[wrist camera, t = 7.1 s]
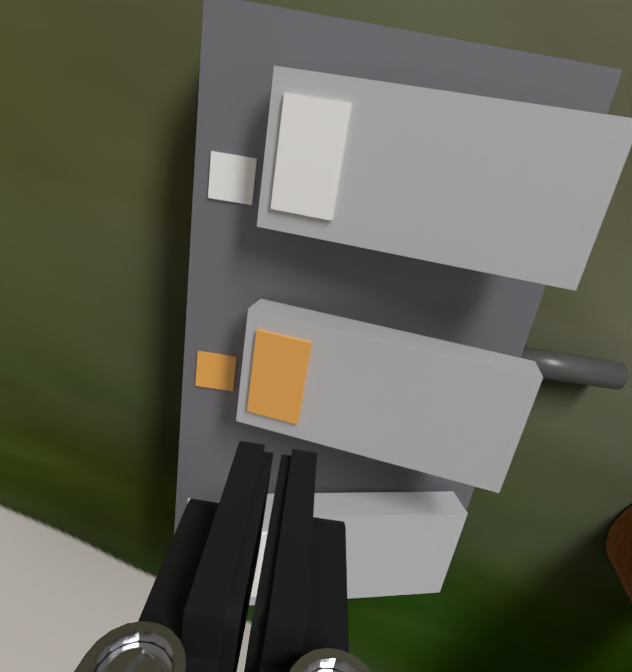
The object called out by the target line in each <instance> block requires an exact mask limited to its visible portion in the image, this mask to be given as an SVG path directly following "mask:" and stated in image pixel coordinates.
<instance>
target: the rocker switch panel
mask: <svg viewBox="0 0 632 672" xmlns="http://www.w3.org/2000/svg"><path fill="white" fill-rule="evenodd" d="M274 66H281V67H287V68H294V69H301V70H308V71H315V72H321V73H328V74H335V75H342V76H349V77H356V78H362V79H369V80H376V81H383V82H390V83H396V84H403V85H410V86H417V87H424V88H430V89H437V90H444V91H451V92H458V93H464V94H471V95H478V96H485V97H492V98H499V99H505V100H512V101H519V102H526V103H533V104H539V105H546V106H553V107H560V108H567V109H573V110H580V111H587V112H594V113H601V114H607V113H608V110H609V107H610V104H611V102H612V99H613V96H614V93H615V90H616V88H617V85H618V82H619V79H620V76H621V73H622V71H623V70H622V69H617V68H611V67H606V66H600V65H595V64H589V63H584V62H578V61H573V60H568V59H562V58H557V57H551V56H546V55H540V54H535V53H529V52H524V51H518V50H513V49H507V48H502V47H496V46H491V45H485V44H480V43H474V42H469V41H463V40H458V39H452V38H447V37H441V36H436V35H430V34H425V33H419V32H414V31H408V30H403V29H397V28H392V27H386V26H381V25H375V24H370V23H364V22H359V21H353V20H348V19H342V18H337V17H331V16H326V15H321V14H315V13H310V12H304V11H299V10H293V9H288V8H282V7H277V6H271V5H266V4H260V3H255V2H249V1H244V0H204V5H203V23H202V41H201V59H200V77H199V95H198V113H197V131H196V149H195V167H194V185H193V203H192V221H191V239H190V257H189V275H188V293H187V311H186V329H185V347H184V365H183V383H182V401H181V419H180V437H179V455H178V473H177V491H176V509H175V527H174V534H175V532H176V529H177V527H178V525H179V522H180V520H181V517H182V515H183V512H184V510H185V508H186V506H187V503H188V501H189V500H190V499H198V500H204V501H211V502H218V503H219V502H220V499H221V496H222V493H223V490H224V487H225V484H226V481H227V478H228V475H229V472H230V468H231V465H232V462H233V459H234V456H235V453H236V450H237V447H238V444H239V442H240V441H245V442H252V443H258V444H265V450H264V451H265V452H271V453H273V461H272V467H271V474H270V481H269V488H268V494H274V493H275V488H276V482H277V476H278V471H279V465H280V459H281V454H284V455H291V454H292V449H297V450H303V451H310V452H316V453H317V464H316V481H315V493H363V492H445V491H453V492H454V493H455V495H456V496H457V498H458V499H459V501H460V502H461V504H462V505H463V507H464V508H465V510H467V507H468V505H469V502H470V499H471V496H472V493H473V490H474V488H475V486H471V485H468V484H464V483H460V482H457V481H453V480H449V479H446V478H442V477H439V476H435V475H431V474H428V473H424V472H420V471H417V470H413V469H409V468H406V467H402V466H398V465H395V464H391V463H387V462H384V461H380V460H377V459H373V458H369V457H366V456H362V455H358V454H355V453H351V452H347V451H344V450H340V449H336V448H333V447H329V446H325V445H322V444H318V443H315V442H311V441H307V440H304V439H300V438H296V437H293V436H289V435H285V434H282V433H278V432H274V431H271V430H267V429H263V428H260V427H256V426H252V425H249V424H245V423H242V422H238V421H236V416H237V407H238V398H239V389H240V379H241V370H242V361H243V352H244V342H245V333H246V324H247V315H248V308H250V307H251V306H252V305H253V304H255V303H256V302H257V301H258V300H260V299H265V300H269V301H274V302H278V303H282V304H287V305H291V306H296V307H300V308H304V309H309V310H313V311H317V312H322V313H326V314H331V315H335V316H339V317H344V318H348V319H352V320H357V321H361V322H366V323H370V324H374V325H379V326H383V327H388V328H392V329H396V330H401V331H405V332H409V333H414V334H418V335H423V336H427V337H431V338H436V339H440V340H444V341H449V342H453V343H458V344H462V345H466V346H471V347H475V348H479V349H484V350H488V351H493V352H497V353H501V354H506V355H510V356H514V357H519V358H523V359H528V360H532V361H535V362H536V364H537V366H538V368H539V370H540V372H541V374H542V376H543V379H550V380H557V381H563V382H570V383H577V384H583V385H590V386H597V387H603V388H610V389H617V390H618V389H621V388H622V387H623V386H624V385H625V384H626V382H627V379H628V370H627V367H626V365H625V364H624V363H622V362H616V361H610V360H603V359H596V358H590V357H583V356H577V355H570V354H564V353H557V352H551V351H544V350H538V349H531V348H525V344H526V341H527V338H528V336H529V333H530V330H531V327H532V324H533V321H534V319H535V316H536V313H537V310H538V307H539V305H540V302H541V299H542V296H543V293H544V290H545V288H546V285H545V284H540V283H535V282H530V281H525V280H520V279H515V278H510V277H505V276H500V275H495V274H490V273H485V272H480V271H475V270H470V269H465V268H460V267H455V266H450V265H445V264H440V263H435V262H431V261H426V260H421V259H416V258H411V257H406V256H401V255H396V254H391V253H386V252H381V251H376V250H371V249H366V248H361V247H356V246H351V245H346V244H341V243H336V242H331V241H326V240H321V239H316V238H311V237H306V236H301V235H296V234H291V233H286V232H281V231H276V230H271V229H266V228H262V227H257V219H258V210H259V200H260V191H261V182H262V173H263V163H264V154H265V145H266V135H267V126H268V117H269V108H270V98H271V89H272V80H273V71H274Z"/></svg>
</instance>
